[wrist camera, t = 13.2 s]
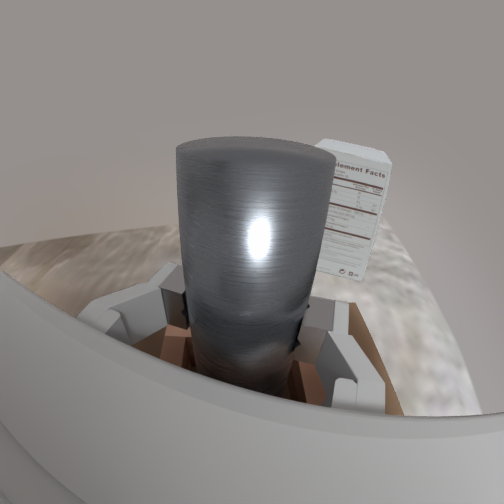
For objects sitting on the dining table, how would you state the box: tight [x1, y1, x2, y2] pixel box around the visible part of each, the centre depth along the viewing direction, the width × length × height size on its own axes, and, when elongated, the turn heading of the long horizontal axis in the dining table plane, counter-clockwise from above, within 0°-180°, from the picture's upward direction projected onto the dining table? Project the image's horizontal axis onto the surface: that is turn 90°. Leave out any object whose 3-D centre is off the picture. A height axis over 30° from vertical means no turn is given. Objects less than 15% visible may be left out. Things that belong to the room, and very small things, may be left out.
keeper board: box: [132, 303, 404, 416], centre depth 13 cm, size 20×18×4 cm
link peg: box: [176, 137, 336, 398], centre depth 10 cm, size 4×4×12 cm
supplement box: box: [314, 139, 392, 281], centre depth 27 cm, size 7×7×13 cm
